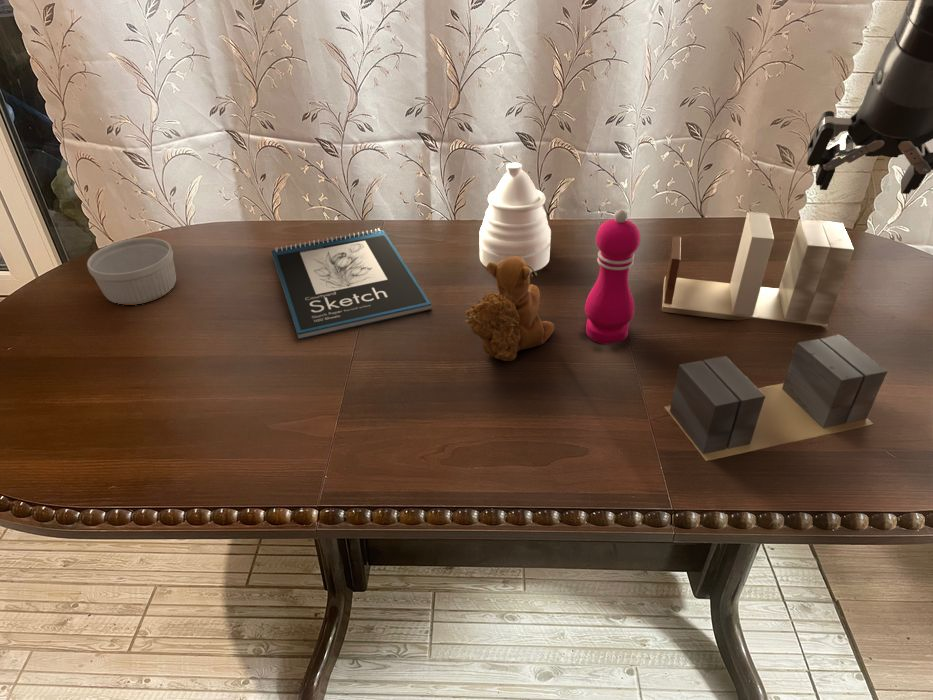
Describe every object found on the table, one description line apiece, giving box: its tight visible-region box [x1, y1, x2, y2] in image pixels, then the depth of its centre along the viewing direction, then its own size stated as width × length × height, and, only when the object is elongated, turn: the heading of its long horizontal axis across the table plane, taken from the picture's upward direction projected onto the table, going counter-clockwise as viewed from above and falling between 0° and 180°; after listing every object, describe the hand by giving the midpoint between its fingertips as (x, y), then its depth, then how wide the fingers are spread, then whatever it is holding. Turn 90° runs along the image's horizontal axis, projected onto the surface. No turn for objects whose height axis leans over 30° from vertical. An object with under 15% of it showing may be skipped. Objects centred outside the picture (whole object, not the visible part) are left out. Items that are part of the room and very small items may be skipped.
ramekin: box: [86, 237, 177, 305], centre depth 111 cm, size 13×13×7 cm
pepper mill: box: [584, 209, 641, 345], centre depth 94 cm, size 7×7×20 cm
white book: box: [730, 211, 775, 316], centre depth 101 cm, size 3×9×13 cm, turn 165°
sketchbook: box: [271, 227, 433, 340], centre depth 114 cm, size 22×30×2 cm
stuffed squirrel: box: [464, 256, 555, 362], centre depth 94 cm, size 10×14×13 cm
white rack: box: [661, 218, 855, 330], centre depth 101 cm, size 24×10×14 cm, turn 74°
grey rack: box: [664, 334, 888, 462], centre depth 80 cm, size 23×10×8 cm, turn 104°
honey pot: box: [478, 162, 552, 273], centre depth 115 cm, size 13×13×18 cm
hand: (862, 186), depth 77 cm, fingers open, 8 cm apart
